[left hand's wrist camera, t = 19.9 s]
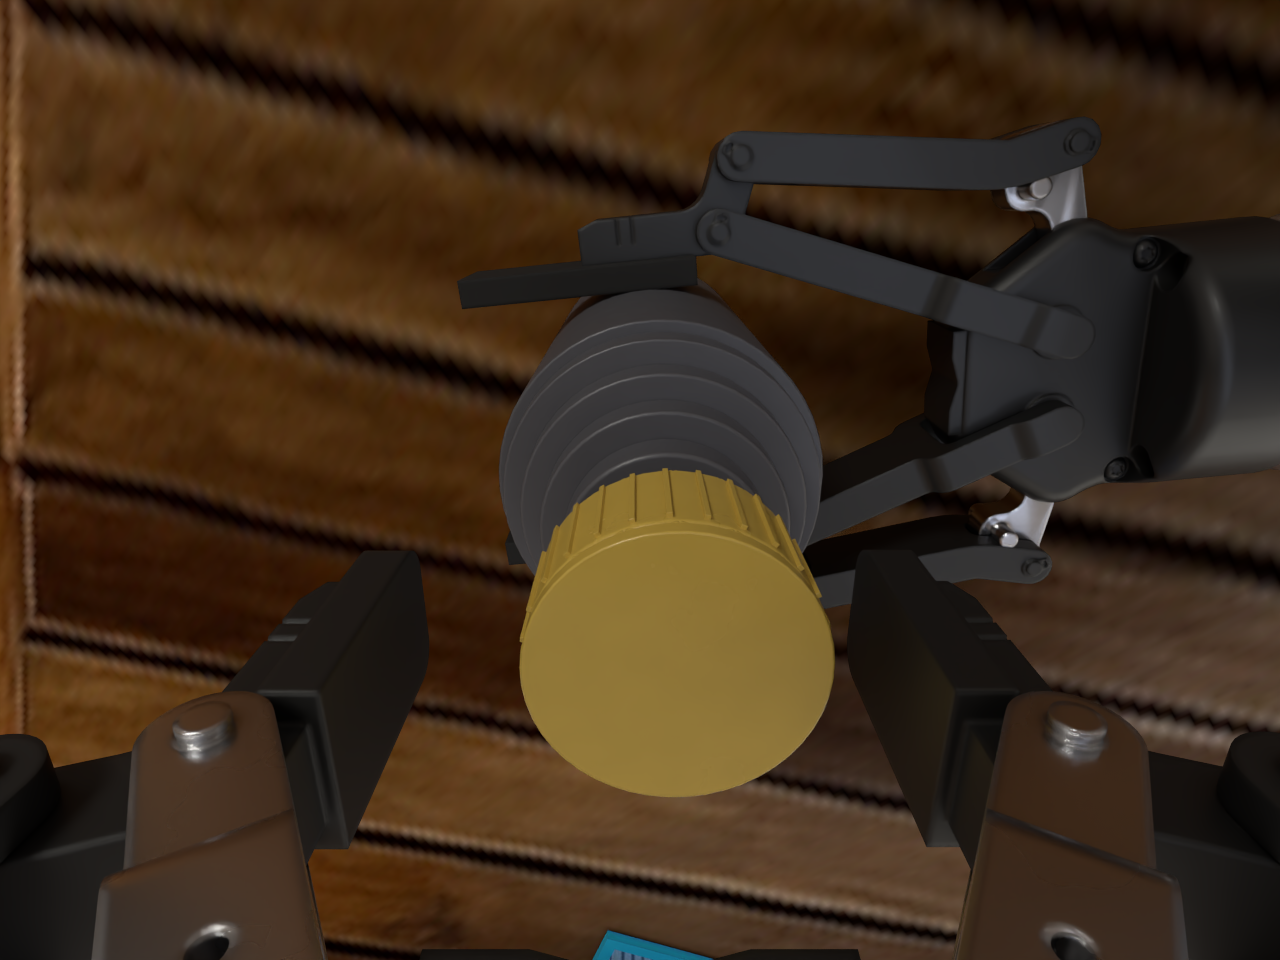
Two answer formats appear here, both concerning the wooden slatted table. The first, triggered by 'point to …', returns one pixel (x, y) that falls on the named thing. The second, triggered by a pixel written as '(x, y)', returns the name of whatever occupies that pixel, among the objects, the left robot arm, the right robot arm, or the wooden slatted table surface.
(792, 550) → the cap
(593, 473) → the bottle
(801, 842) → the wooden slatted table surface
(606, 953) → the model building
